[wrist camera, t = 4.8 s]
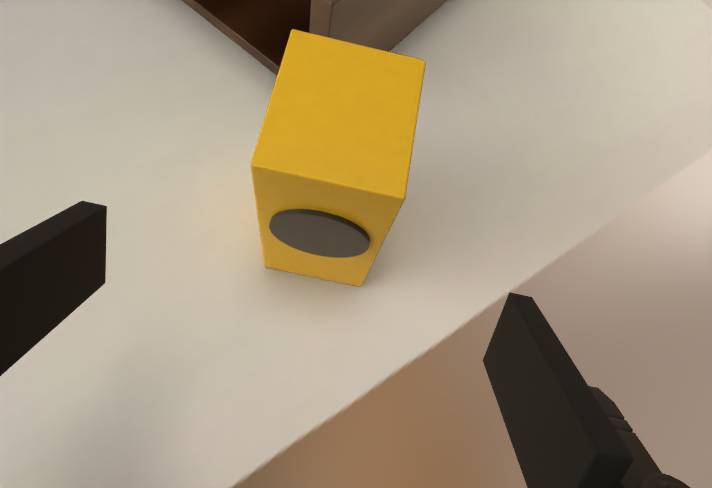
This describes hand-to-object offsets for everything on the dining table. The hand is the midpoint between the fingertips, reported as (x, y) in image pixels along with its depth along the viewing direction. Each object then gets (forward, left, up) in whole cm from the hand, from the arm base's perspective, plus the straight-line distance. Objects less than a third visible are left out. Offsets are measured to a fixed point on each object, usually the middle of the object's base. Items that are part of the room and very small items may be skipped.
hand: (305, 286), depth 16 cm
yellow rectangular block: (-4, +7, -13) cm, 15 cm away
